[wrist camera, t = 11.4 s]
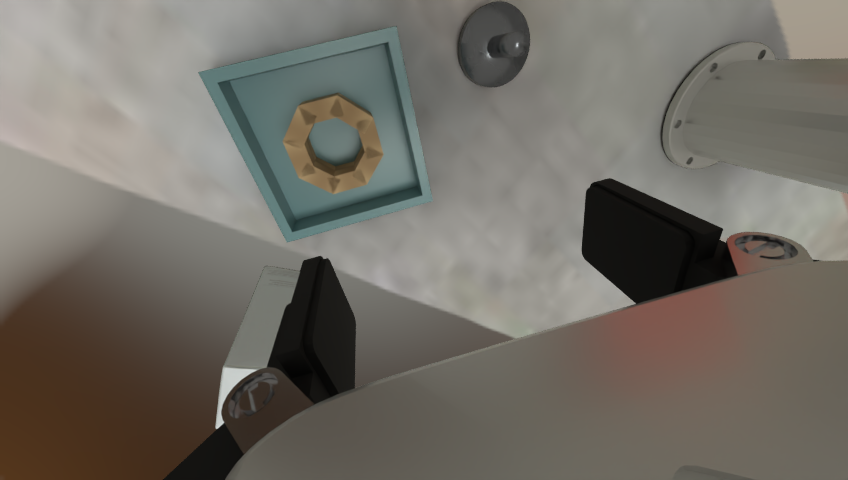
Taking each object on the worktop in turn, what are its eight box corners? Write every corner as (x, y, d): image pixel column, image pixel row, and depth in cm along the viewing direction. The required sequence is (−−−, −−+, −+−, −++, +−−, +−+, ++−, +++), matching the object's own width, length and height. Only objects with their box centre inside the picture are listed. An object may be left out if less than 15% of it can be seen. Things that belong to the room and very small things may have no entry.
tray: (390, 30, 24) (396, 25, 21) (425, 188, 31) (432, 200, 29) (216, 71, 23) (198, 72, 20) (292, 226, 30) (287, 242, 27)
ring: (363, 86, 25) (365, 88, 22) (386, 168, 29) (390, 178, 26) (277, 108, 24) (269, 112, 22) (312, 188, 28) (309, 200, 26)
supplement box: (263, 263, 32) (221, 365, 21) (337, 276, 34) (332, 372, 23) (253, 317, 34) (211, 431, 24) (322, 325, 37) (311, 431, 26)
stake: (522, -4, 25) (558, -18, 21) (525, 77, 28) (556, 79, 24) (452, 12, 25) (475, 1, 20) (463, 93, 28) (484, 98, 23)
